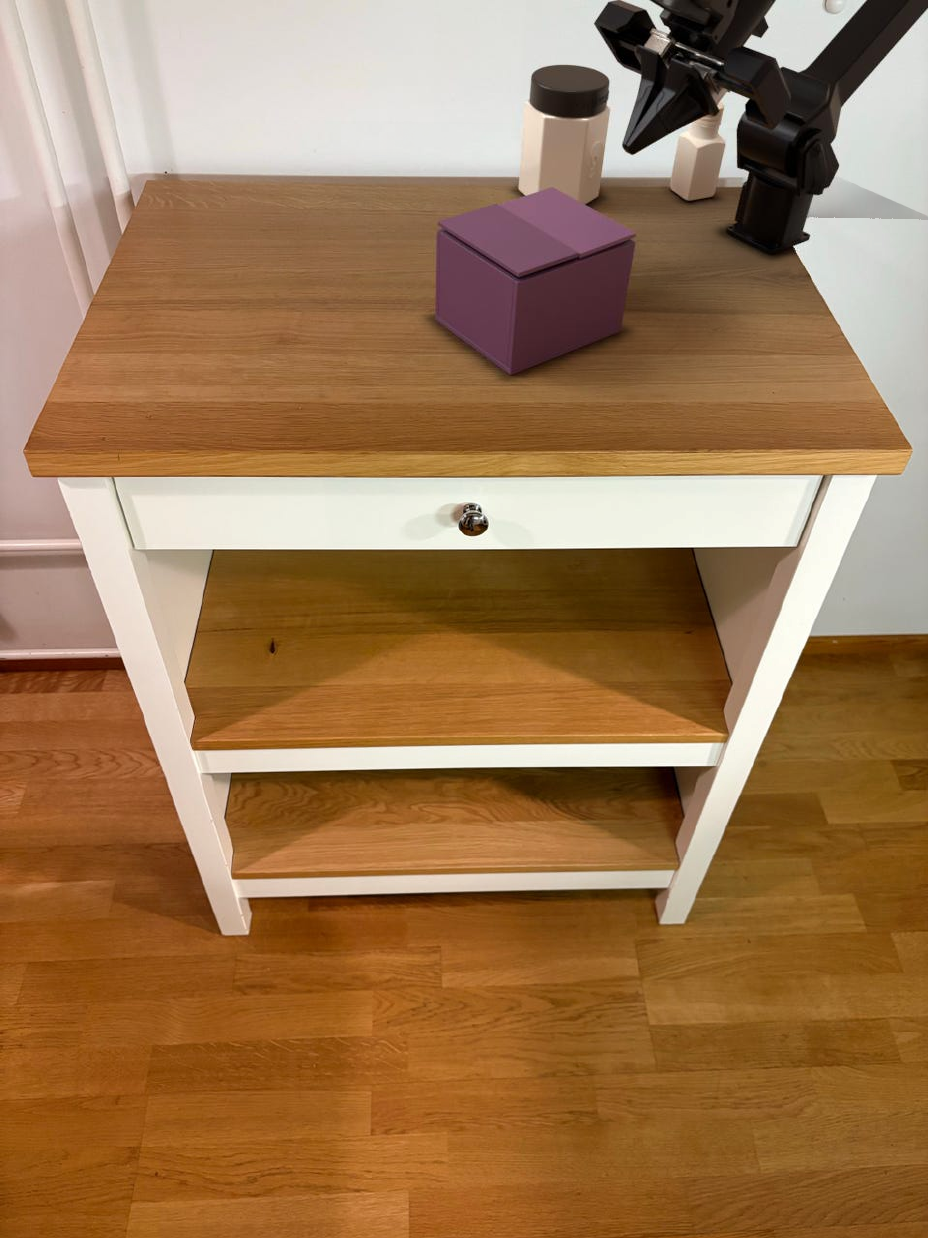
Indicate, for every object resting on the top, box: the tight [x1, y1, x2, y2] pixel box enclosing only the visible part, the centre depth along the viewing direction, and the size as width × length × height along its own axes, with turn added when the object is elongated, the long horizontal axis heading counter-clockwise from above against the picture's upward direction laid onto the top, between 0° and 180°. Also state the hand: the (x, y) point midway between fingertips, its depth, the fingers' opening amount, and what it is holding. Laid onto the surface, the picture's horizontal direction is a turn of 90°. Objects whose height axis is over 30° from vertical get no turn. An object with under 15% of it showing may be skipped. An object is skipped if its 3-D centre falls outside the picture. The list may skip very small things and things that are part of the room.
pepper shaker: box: [669, 101, 727, 201], centre depth 108 cm, size 4×4×10 cm
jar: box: [518, 64, 611, 206], centre depth 105 cm, size 9×8×12 cm
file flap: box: [498, 187, 637, 258], centre depth 85 cm, size 6×11×1 cm, turn 37°
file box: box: [434, 203, 636, 376], centre depth 87 cm, size 13×11×9 cm
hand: (626, 150), depth 84 cm, fingers closed
